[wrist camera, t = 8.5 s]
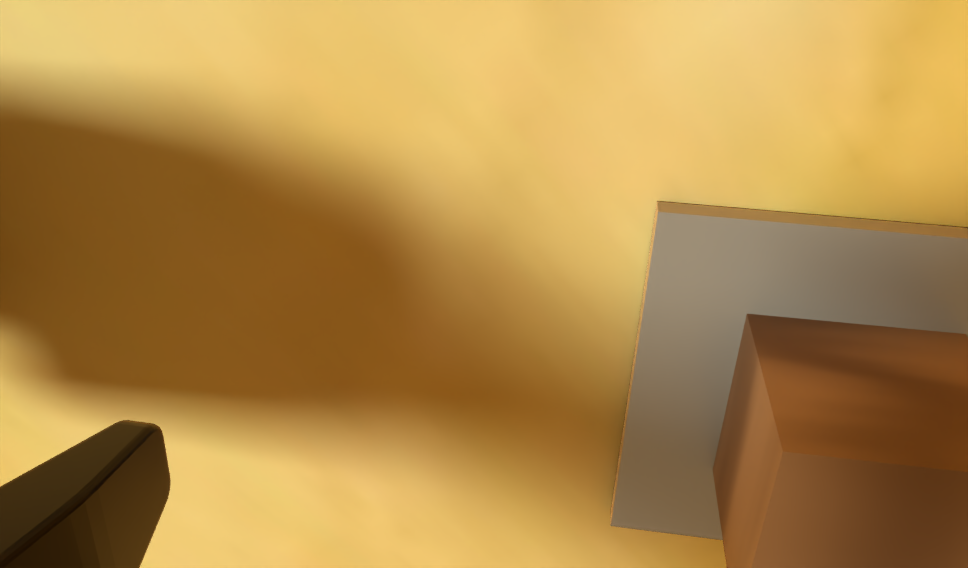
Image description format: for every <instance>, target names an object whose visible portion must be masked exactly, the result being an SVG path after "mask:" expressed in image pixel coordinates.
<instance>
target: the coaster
mask: <svg viewBox="0 0 968 568" xmlns="http://www.w3.org/2000/svg"><path fill="white" fill-rule="evenodd" d="M747 314H757V315H768V316H779V317H789V318H800V319H811V320H821V321H832V322H843V323H854V324H864V325H875V326H886V327H896V328H907V329H918V330H928V331H939V332H950V333H961V334H966V336H967V337H968V228H965V227H953V226H941V225H930V224H918V223H906V222H894V221H883V220H871V219H859V218H847V217H836V216H824V215H812V214H800V213H789V212H777V211H765V210H753V209H742V208H730V207H718V206H706V205H695V204H683V203H671V202H659V201H657V205H656V211H655V218H654V225H653V232H652V238H651V245H650V252H649V258H648V265H647V272H646V278H645V285H644V292H643V299H642V305H641V312H640V319H639V325H638V332H637V339H636V345H635V352H634V359H633V366H632V372H631V379H630V386H629V392H628V399H627V406H626V412H625V419H624V426H623V432H622V439H621V446H620V453H619V459H618V466H617V473H616V479H615V486H614V493H613V499H612V506H611V526H615V527H623V528H631V529H639V530H647V531H655V532H663V533H670V534H678V535H686V536H694V537H702V538H710V539H718V540H723V538H722V531H721V524H720V517H719V510H718V504H717V497H716V490H715V483H714V476H713V466H714V461H715V457H716V452H717V448H718V443H719V438H720V434H721V429H722V425H723V420H724V416H725V411H726V406H727V402H728V397H729V393H730V388H731V384H732V379H733V374H734V370H735V365H736V361H737V356H738V352H739V347H740V342H741V338H742V333H743V329H744V324H745V320H746V315H747Z"/></svg>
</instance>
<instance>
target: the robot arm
mask: <svg viewBox="0 0 968 568" xmlns="http://www.w3.org/2000/svg"><path fill="white" fill-rule="evenodd" d="M169 491H170V473H169V467H168V461H167V455H166V449H165V443H164V437H163V433H162V431H161V429H160V428H159V427H158V426H157V425H155V424H152V423H145V422H137V421H130V420H123V421H119V422H117V423H115V424H113V425H111V426H109V427H108V428H106V429H104V430H102V431H100V432H99V433H97V434H95V435H93V436H91V437H89V438H88V439H86V440H84V441H82V442H80V443H79V444H77V445H75V446H73V447H71V448H70V449H68V450H66V451H64V452H62V453H61V454H59V455H57V456H55V457H53V458H51V459H50V460H48V461H46V462H44V463H42V464H41V465H39V466H37V467H35V468H33V469H32V470H30V471H28V472H26V473H24V474H22V475H21V476H19V477H17V478H15V479H13V480H12V481H10V482H8V483H6V484H4V485H3V486H1V487H0V568H139V567H140V565H141V563H142V560H143V558H144V555H145V553H146V550H147V548H148V546H149V543H150V541H151V538H152V536H153V534H154V531H155V529H156V526H157V524H158V521H159V519H160V517H161V514H162V512H163V509H164V507H165V504H166V502H167V499H168V496H169Z"/></svg>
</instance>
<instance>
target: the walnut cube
mask: <svg viewBox="0 0 968 568" xmlns="http://www.w3.org/2000/svg"><path fill="white" fill-rule="evenodd" d="M713 476H714V483H715V490H716V497H717V504H718V510H719V517H720V524H721V531H722V538H723V544H724V551H725V558H726V565H727V568H968V337H967V336H966V334H961V333H950V332H939V331H928V330H918V329H907V328H896V327H886V326H875V325H864V324H854V323H843V322H832V321H821V320H811V319H800V318H789V317H779V316H768V315H757V314H747V315H746V320H745V324H744V329H743V333H742V338H741V342H740V347H739V352H738V356H737V361H736V365H735V370H734V374H733V379H732V384H731V388H730V393H729V397H728V402H727V406H726V411H725V416H724V420H723V425H722V429H721V434H720V438H719V443H718V448H717V452H716V457H715V461H714V466H713Z"/></svg>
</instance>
